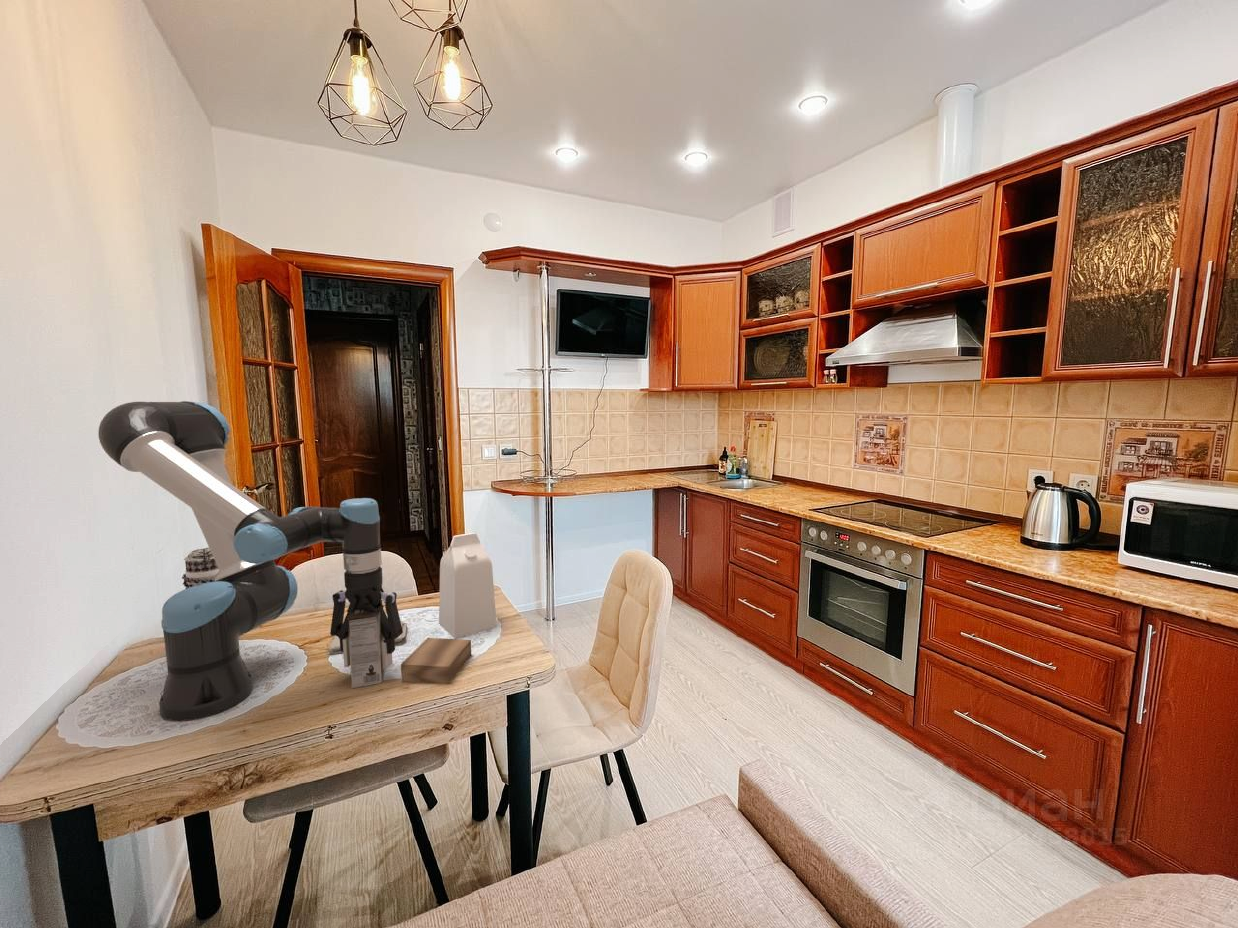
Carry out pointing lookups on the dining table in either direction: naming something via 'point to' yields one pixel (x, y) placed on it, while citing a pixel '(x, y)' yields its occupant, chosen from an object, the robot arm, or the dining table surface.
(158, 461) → the robot arm
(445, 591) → the milk
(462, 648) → the pedestal
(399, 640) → the washcloth
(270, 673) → the dining table surface
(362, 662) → the coffee box
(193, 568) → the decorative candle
